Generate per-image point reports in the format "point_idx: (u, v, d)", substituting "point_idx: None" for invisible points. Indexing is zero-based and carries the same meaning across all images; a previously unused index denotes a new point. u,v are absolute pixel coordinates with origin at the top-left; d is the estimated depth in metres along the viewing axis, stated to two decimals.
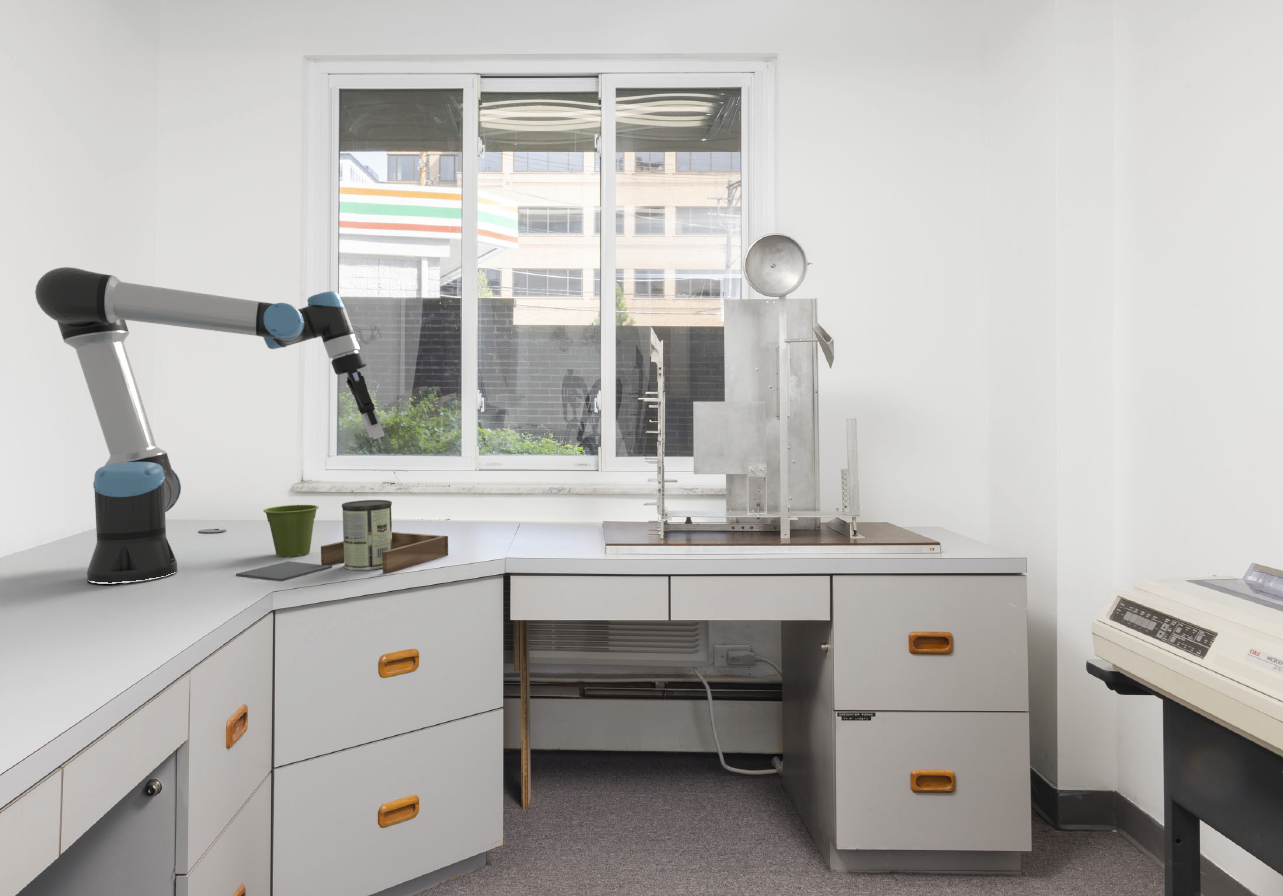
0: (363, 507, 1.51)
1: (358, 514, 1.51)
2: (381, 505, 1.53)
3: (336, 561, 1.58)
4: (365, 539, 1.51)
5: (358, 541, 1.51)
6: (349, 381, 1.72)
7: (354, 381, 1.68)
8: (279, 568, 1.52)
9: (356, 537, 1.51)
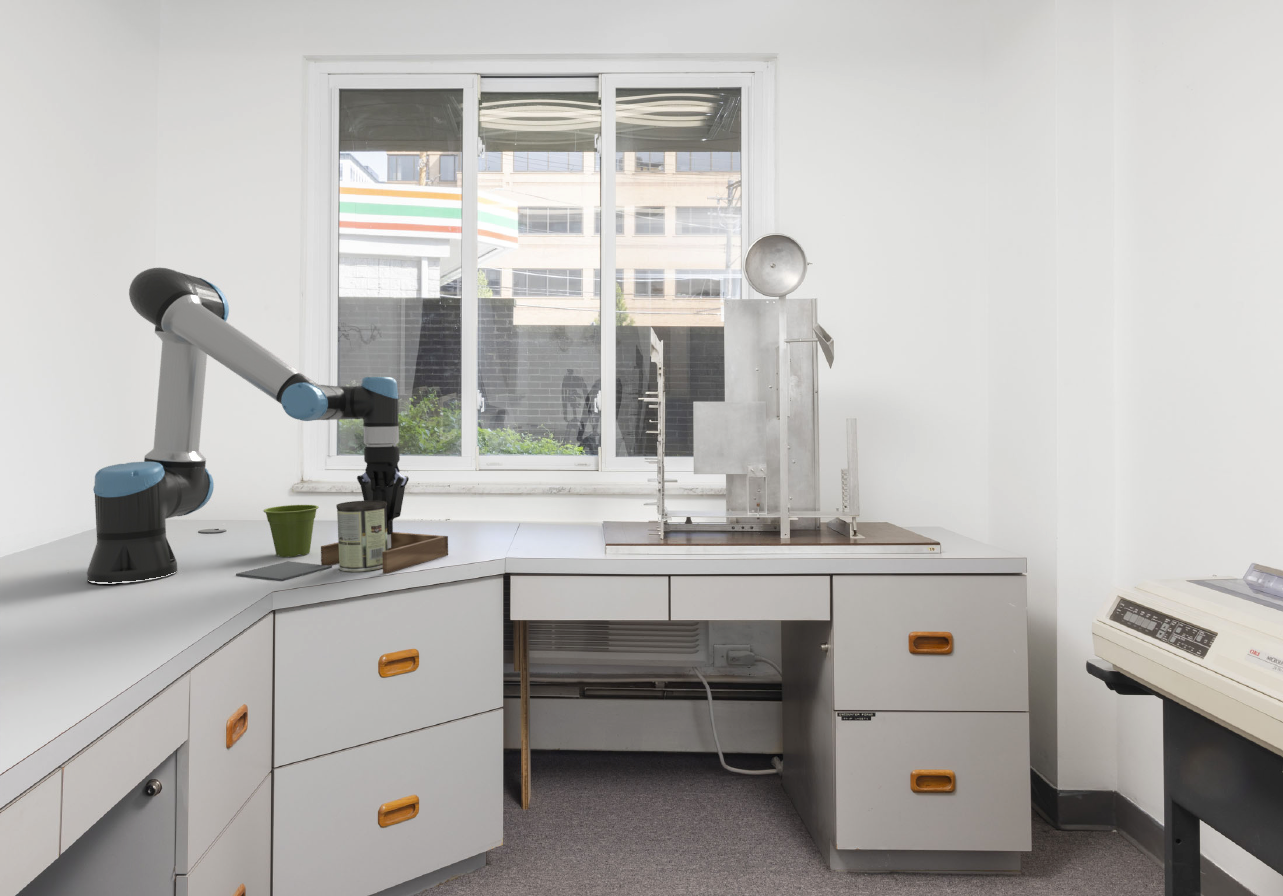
0: (357, 508, 1.49)
1: (352, 514, 1.49)
2: (375, 506, 1.51)
3: (336, 561, 1.58)
4: (359, 540, 1.50)
5: (352, 542, 1.50)
6: (384, 473, 1.58)
7: (399, 486, 1.58)
8: (279, 568, 1.52)
9: (350, 538, 1.50)
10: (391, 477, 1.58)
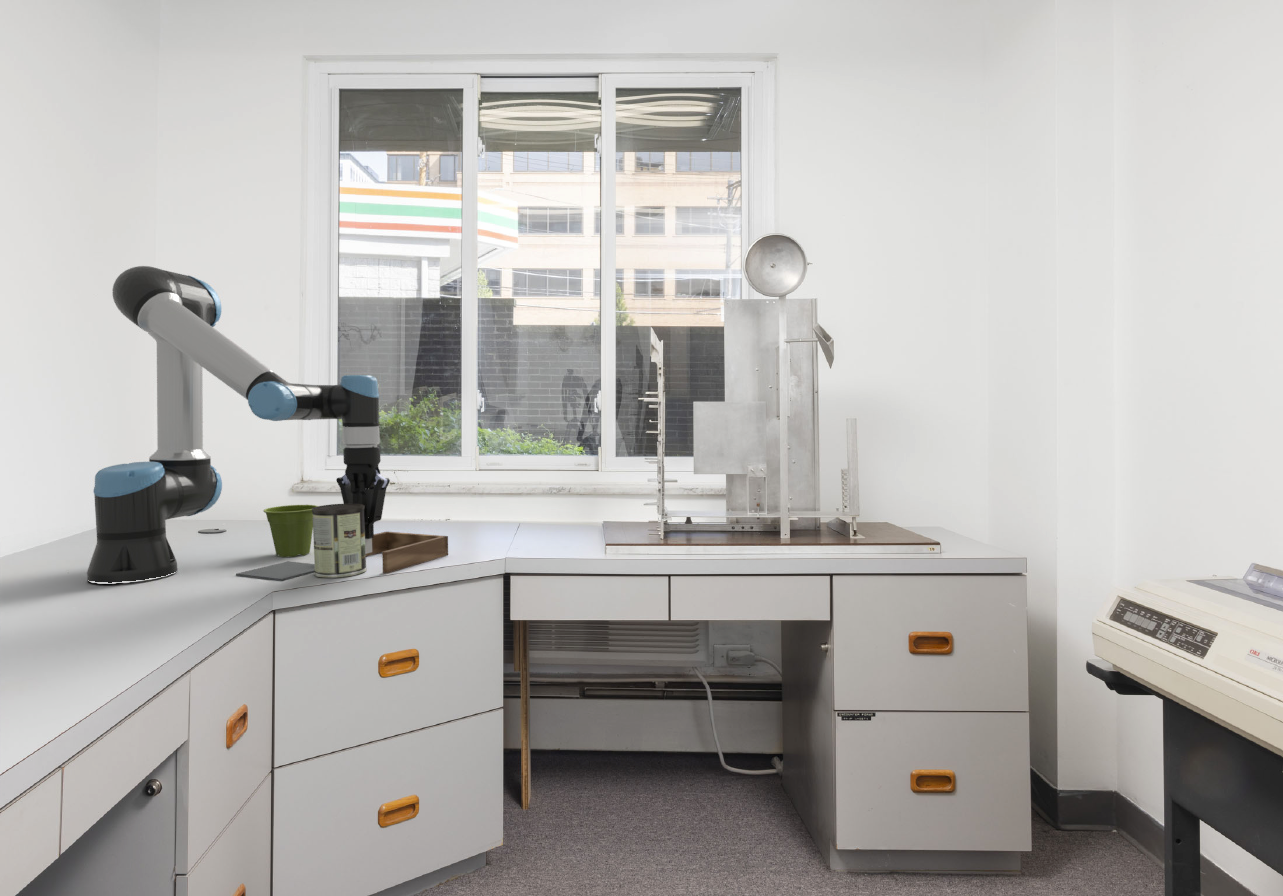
0: (329, 511, 1.44)
1: (324, 518, 1.44)
2: (348, 510, 1.45)
3: None
4: (331, 545, 1.44)
5: (324, 547, 1.44)
6: (364, 475, 1.52)
7: (380, 488, 1.52)
8: (279, 568, 1.52)
9: (322, 543, 1.45)
10: (371, 479, 1.52)
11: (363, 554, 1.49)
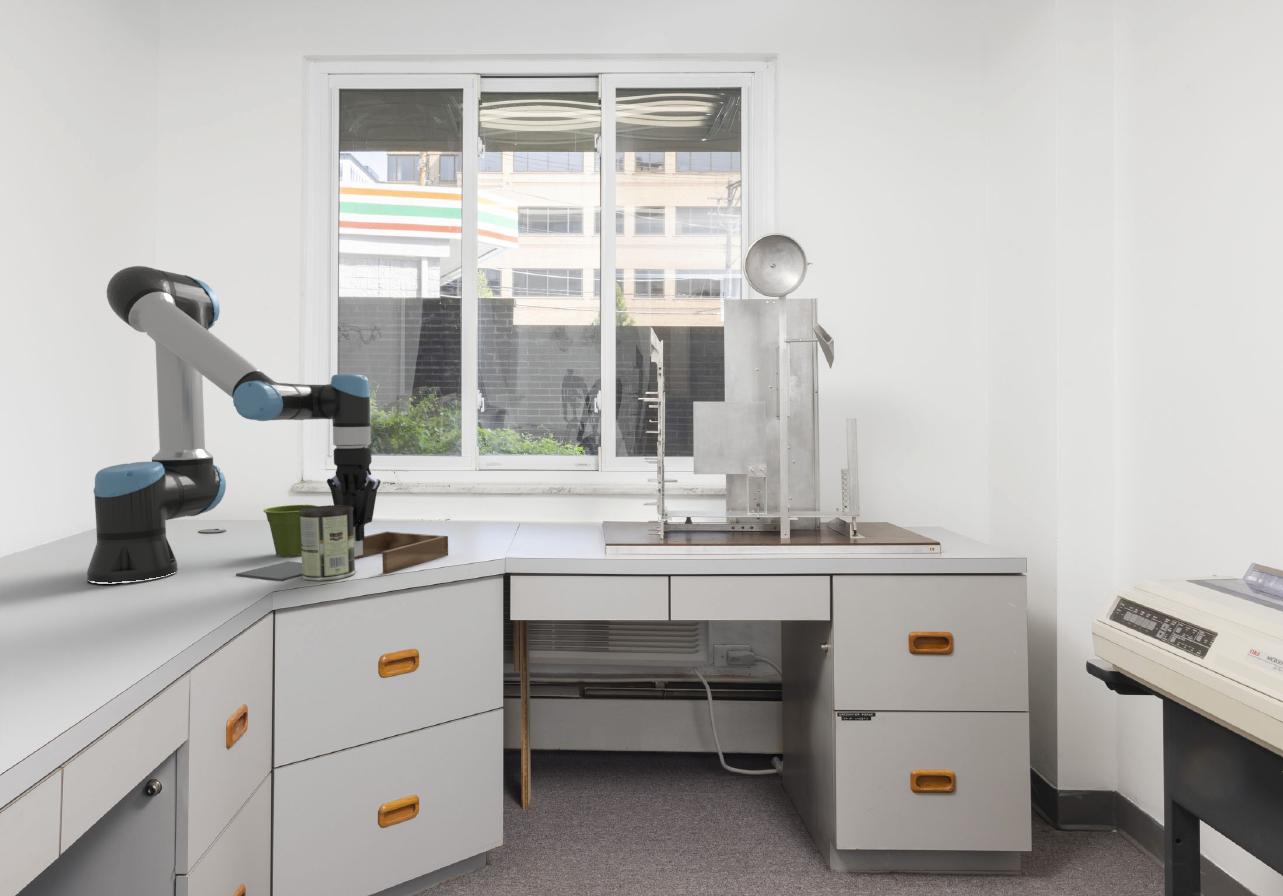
0: (314, 513, 1.41)
1: (310, 520, 1.42)
2: (334, 512, 1.43)
3: None
4: (317, 548, 1.42)
5: (310, 549, 1.42)
6: (355, 476, 1.50)
7: (370, 489, 1.49)
8: (279, 568, 1.52)
9: (308, 545, 1.42)
10: (362, 480, 1.50)
11: (351, 557, 1.46)
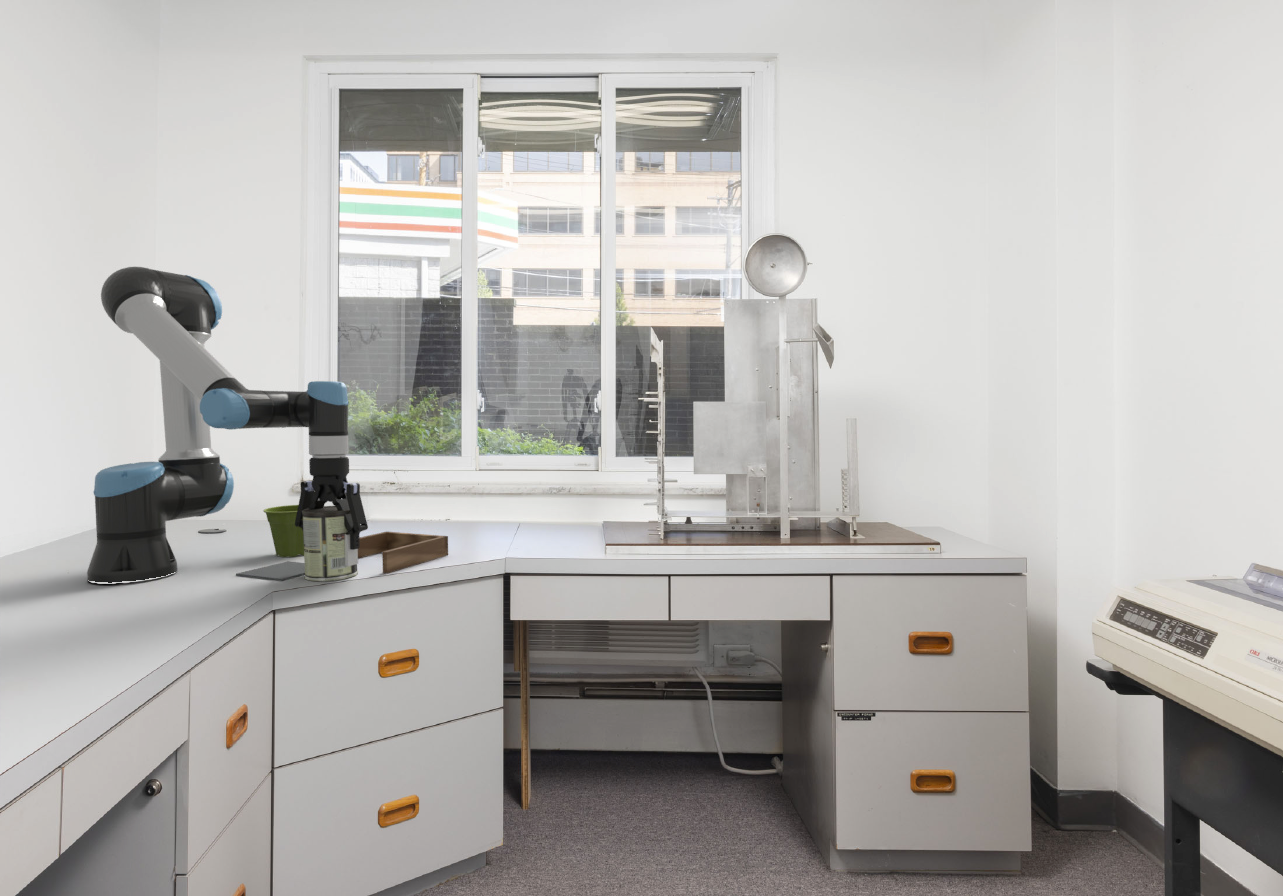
0: (317, 514, 1.41)
1: (313, 521, 1.41)
2: (337, 512, 1.42)
3: None
4: (320, 548, 1.41)
5: (312, 549, 1.42)
6: (331, 487, 1.44)
7: (352, 493, 1.43)
8: (279, 568, 1.52)
9: (311, 546, 1.42)
10: (338, 491, 1.44)
11: None
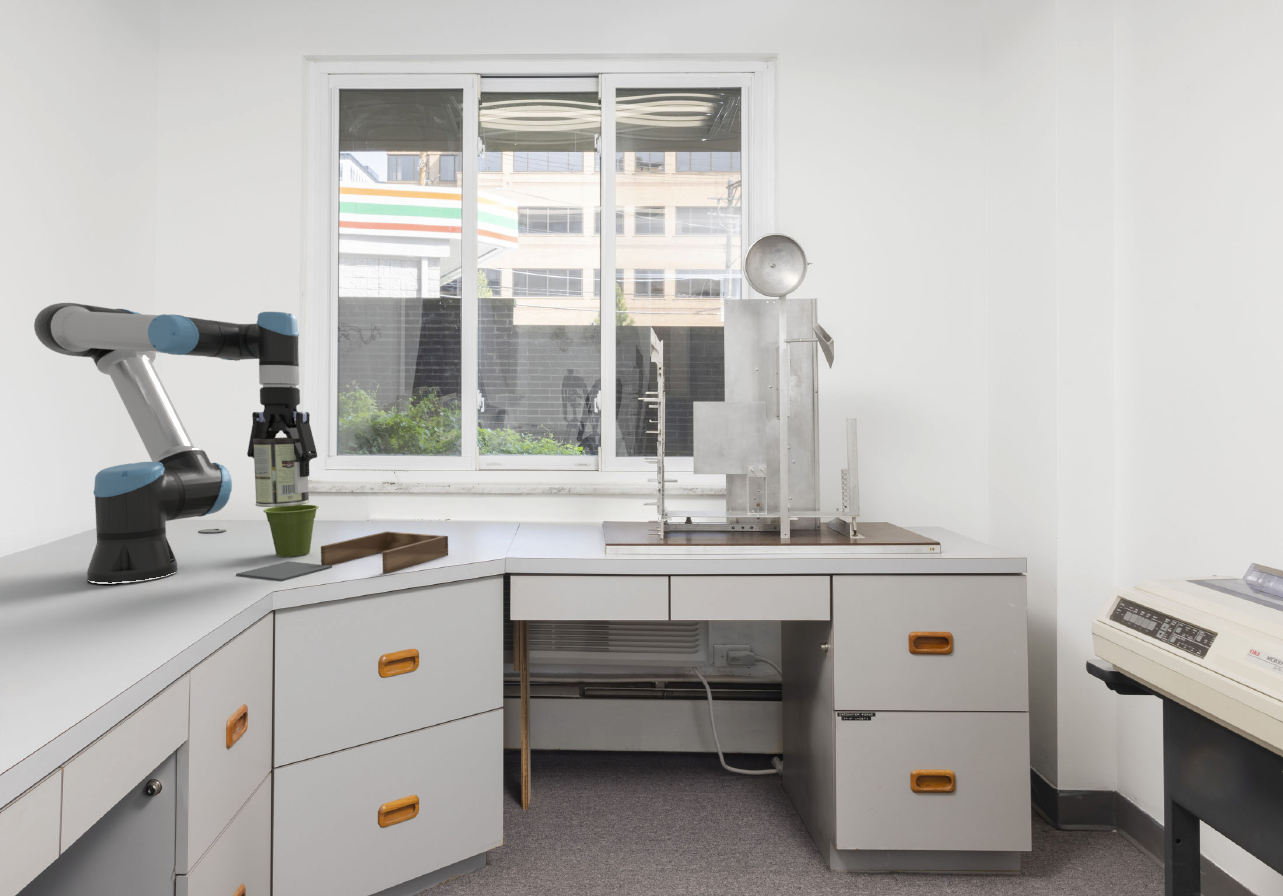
0: (266, 440, 1.44)
1: (262, 447, 1.44)
2: (287, 439, 1.45)
3: (336, 561, 1.58)
4: (269, 474, 1.45)
5: (262, 476, 1.45)
6: (281, 416, 1.47)
7: (301, 422, 1.46)
8: (279, 568, 1.52)
9: (260, 472, 1.45)
10: (288, 420, 1.47)
11: None
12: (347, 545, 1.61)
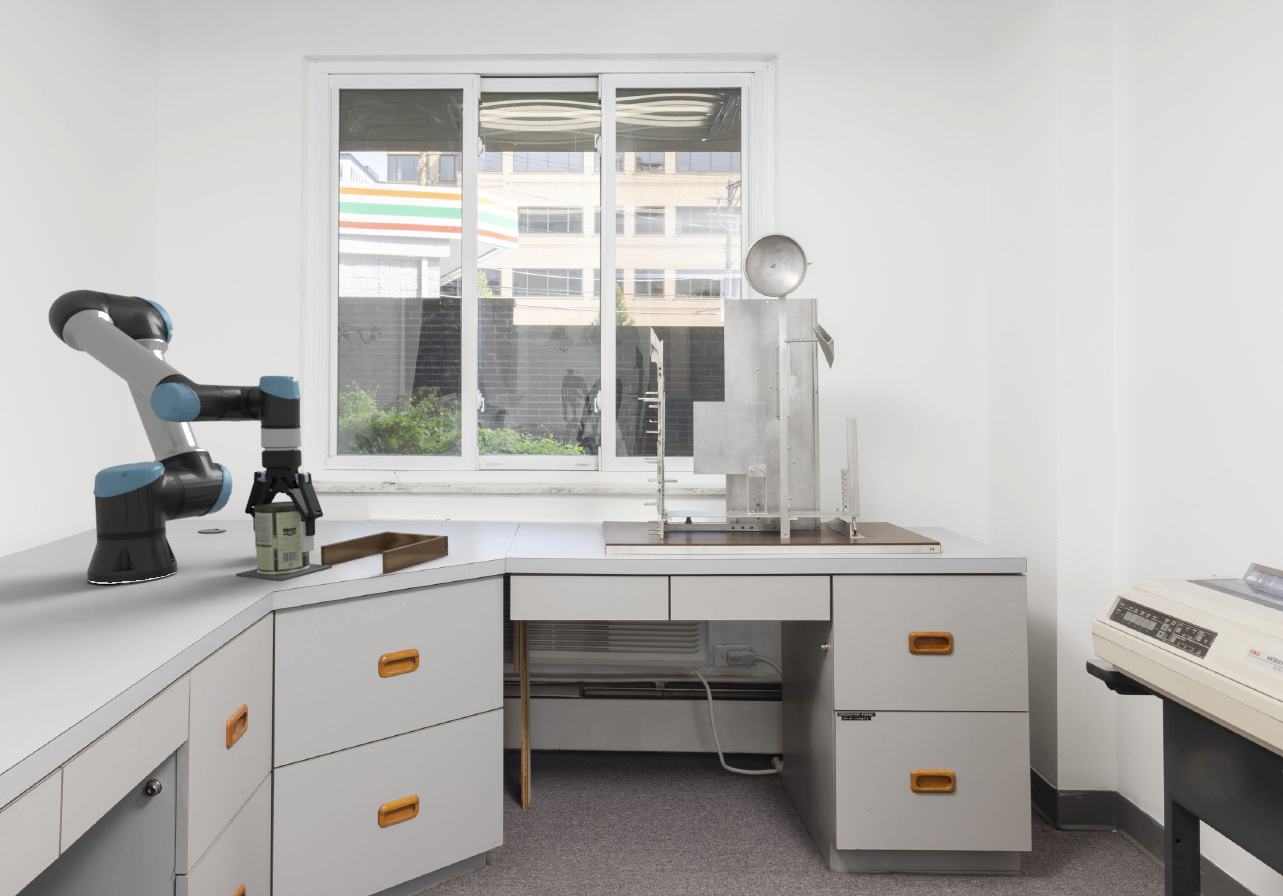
0: (268, 509, 1.45)
1: (264, 516, 1.45)
2: (288, 507, 1.46)
3: (336, 561, 1.58)
4: (270, 543, 1.45)
5: (264, 544, 1.46)
6: (283, 479, 1.48)
7: (304, 482, 1.47)
8: None
9: (262, 540, 1.46)
10: (290, 483, 1.48)
11: (305, 552, 1.50)
12: (347, 545, 1.61)
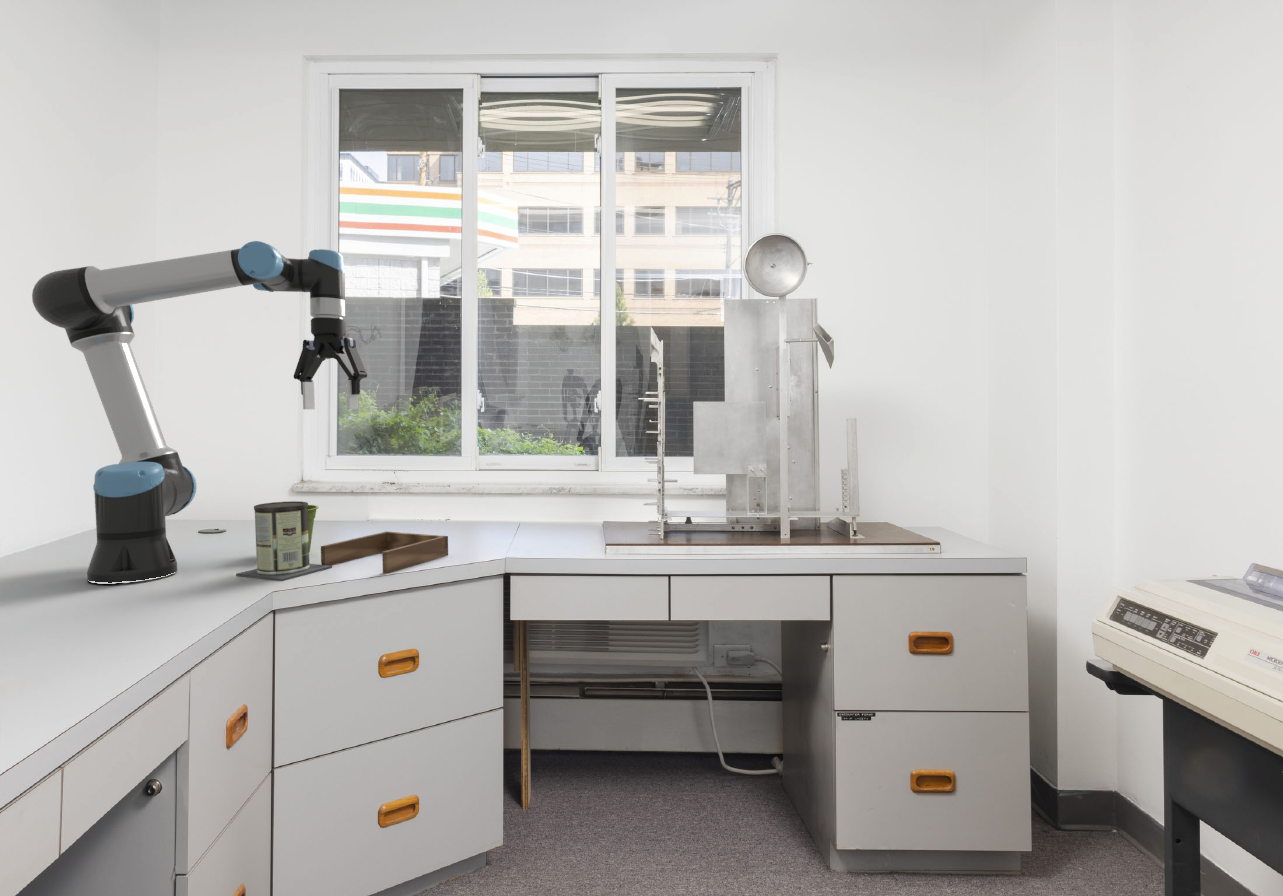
0: (267, 509, 1.45)
1: (263, 516, 1.45)
2: (288, 507, 1.46)
3: (336, 561, 1.58)
4: (270, 543, 1.45)
5: (263, 544, 1.46)
6: (330, 344, 1.63)
7: (349, 346, 1.62)
8: None
9: (261, 540, 1.46)
10: (336, 348, 1.63)
11: (305, 552, 1.50)
12: (347, 545, 1.61)
